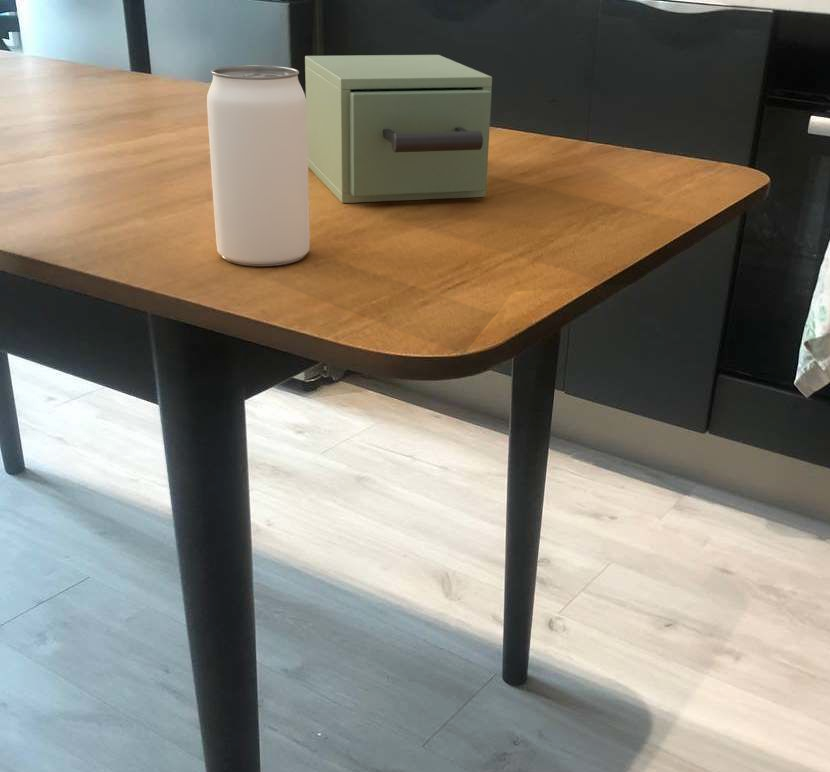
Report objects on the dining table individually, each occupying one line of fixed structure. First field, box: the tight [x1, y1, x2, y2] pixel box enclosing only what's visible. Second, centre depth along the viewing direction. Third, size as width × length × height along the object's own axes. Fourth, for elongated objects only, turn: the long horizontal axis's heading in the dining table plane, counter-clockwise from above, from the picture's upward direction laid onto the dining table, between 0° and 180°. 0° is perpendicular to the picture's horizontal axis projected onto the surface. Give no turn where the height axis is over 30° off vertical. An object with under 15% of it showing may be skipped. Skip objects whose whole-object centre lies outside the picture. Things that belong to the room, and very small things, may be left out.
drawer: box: [350, 88, 492, 196], centre depth 91 cm, size 18×11×8 cm, turn 16°
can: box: [206, 64, 311, 268], centre depth 73 cm, size 6×6×12 cm
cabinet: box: [304, 54, 493, 204], centre depth 95 cm, size 15×13×10 cm
